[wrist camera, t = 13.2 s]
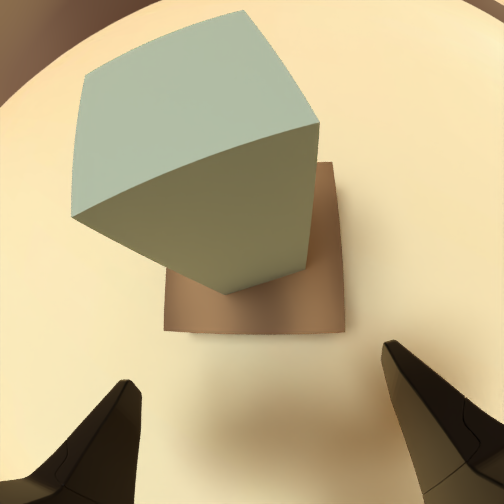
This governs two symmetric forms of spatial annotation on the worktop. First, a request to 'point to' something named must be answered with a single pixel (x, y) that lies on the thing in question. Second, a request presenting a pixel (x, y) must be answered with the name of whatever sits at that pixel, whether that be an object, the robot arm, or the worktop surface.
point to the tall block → (200, 155)
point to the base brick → (273, 286)
